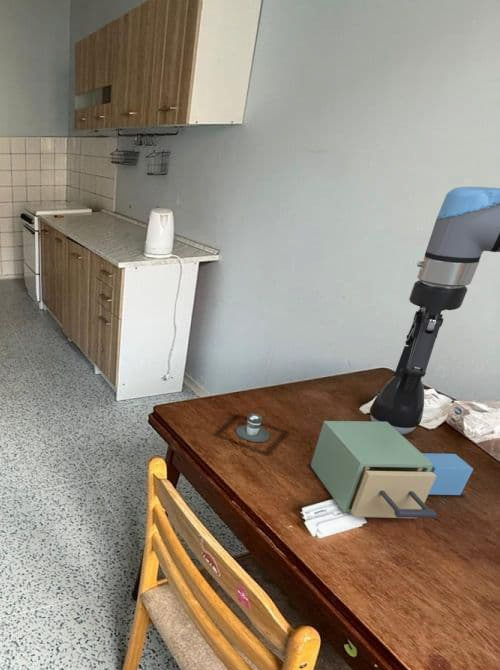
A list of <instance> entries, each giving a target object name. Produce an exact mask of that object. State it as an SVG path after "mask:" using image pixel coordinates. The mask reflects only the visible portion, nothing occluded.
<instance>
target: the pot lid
mask: <svg viewBox="0 0 500 670" xmlns="http://www.w3.org/2000/svg"><path fill="white" fill-rule="evenodd" d="M262 424H263V416H262V415H261V414H258V413H249V414H248V415H247V417H246V424H241V425H239V426H237V427H236V429H235V433H236V435H237V436H238V437H239V438H241V439H243V440H245V441H247V442H252V443H265V442H267V441H269V440H270V438H271V434H270V432H269V431H268V430H267V429H265V428H264V427H261V425H262Z"/></svg>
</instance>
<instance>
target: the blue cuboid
mask: <svg viewBox="0 0 500 670" xmlns="http://www.w3.org/2000/svg"><path fill="white" fill-rule="evenodd" d="M421 453H422V454H423V455H424V456H425V457H426V458H427V459H428V460H429V461H431V462H432V463H433V464H434V465H433V467H432V470H431V472H433V473H434V474H435V475H436V476H437V477H436V479H435V481H434V483H433V485H432V488H431V490H430V492H429V494H428V495H432V496H433V495H434V496H437V495H438V496H461V495H462V493H463V491H464V489H465V487H466V485H467V484H468V481H469V479H470V476H471V475H472V473H473V470H474V468H473V467H472V466H471V465H469V463H467V461H465V460H463V459H462V458H461V457H460V456H459V455H457V454H456V453H430V452H429V453H428V452H426V453H423V452H421Z"/></svg>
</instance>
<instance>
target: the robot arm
mask: <svg viewBox="0 0 500 670" xmlns="http://www.w3.org/2000/svg"><path fill="white" fill-rule="evenodd" d="M484 252H491V253H500V187H487V186H460V187H459V186H458V187H455V188H453V189H451V190H449V191H448V192H447V193H446V195H445V197H444V199H443V202H442V204H441V206H440V209H439V211H438V214H437V217H436V219H435V221H434V225H433V229H432V231H431V235H430V237H429V241H428V243H427V247H426V250H425V253H424V255H423V260H422V261H418V262H417V263H416V267H418V268H419V270H418V273H417V277H416V278H417V279H418V280H417V281H415V282H414V284H413V286H412V289H411V293H410V295H409V298H408V301H409V302H410V303H411V304H413V305H414V306H417V307H418V310H416V311H415V312H414V317H413V320H412V323H411V326H410V328H409V330H408V333H407V335H406V336H405V337H406V340H405V342H404V344H405V345H404V346H403V349H402V352H401V355H400V357H399V360H398V363H397V366H396V369H395V371H394V374H393V377H394V376H396V377H401V380H400V383H399V386H398V388H397V391H396V394H395V396H394V399H393V402H392V403H393V404H398V405H402V406H407V407H410V406H411V403H412V401H413V398H414V395H415V393H416V390H417V388H418V385H419V383H420V380H421V381H422V378H424V377H425V376H426V374H427V368H428V365H429V362H430V359H431V356H432V353H433V350H434V346H435V343H436V340H437V338H438V335H439V331H440V329H441V327H442V325H443V322H444V318H443V314H442V312H444V311H454V310H458V309H460V308H461V307H462V305H463V303H464V300H465V297H466V294H467V293H468V287H467V286H468V285H471V283H472V281H473V279H474V276H475V273H476V271H477V269H478V266H479V263H480V261H481V257H482V255H483V253H484Z"/></svg>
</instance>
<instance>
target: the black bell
mask: <svg viewBox="0 0 500 670" xmlns="http://www.w3.org/2000/svg"><path fill="white" fill-rule="evenodd" d="M400 380H401V377H396V376H394V375H393V377H392V378H390V380H388V381H387V383H386V384H385V385H384V386H383V387H382V388H381V390H380V391H379V392H378V393H377V395H376V397H375V399H374V400H373V401H372V404H371V406H370V408H369V415H370V421H372V422H388V423H389V424H390V425H391V426H392V427H393V428H394V429H396V430H397V431H398V432H399V433H400V434H401V435H402V436H403V435H406V434H409V433H411V432H413V431H414V430H416V428H417V427H418V426H420V425H421V423H422V419H423V415H424V409H425V387H424V384H423V381H422V379H421V380H420V383H419V385H418V388H417V390H416V393H415V395H414V398H413V401H412V403H411V406H410V407H407V406H402V405H398V404H393V403H392V402H393V399H394V396H395V394H396V391H397V388H398V386H399V383H400Z"/></svg>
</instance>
